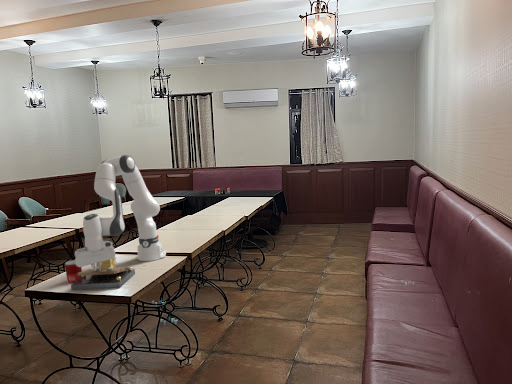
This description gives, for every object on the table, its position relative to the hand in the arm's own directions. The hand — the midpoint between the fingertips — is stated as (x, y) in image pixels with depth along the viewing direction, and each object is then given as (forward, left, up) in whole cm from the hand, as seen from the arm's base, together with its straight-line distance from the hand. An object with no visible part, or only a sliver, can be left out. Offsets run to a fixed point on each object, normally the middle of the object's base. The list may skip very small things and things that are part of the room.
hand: (97, 270), depth 211 cm
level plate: (-7, 0, -3) cm, 7 cm away
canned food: (-10, -19, -9) cm, 23 cm away
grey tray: (-6, 0, -8) cm, 10 cm away
